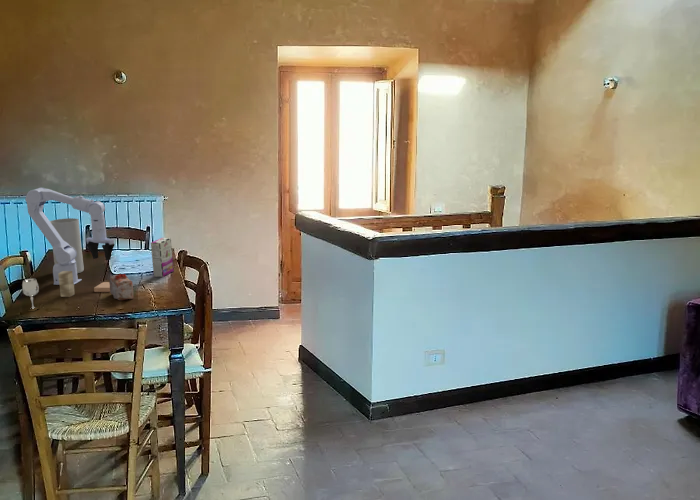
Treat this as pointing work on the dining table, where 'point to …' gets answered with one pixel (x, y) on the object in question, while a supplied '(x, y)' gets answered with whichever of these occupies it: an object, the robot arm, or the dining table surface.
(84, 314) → the dining table surface
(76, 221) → the cylinder vase
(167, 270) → the candy bar box
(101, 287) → the terracotta tile
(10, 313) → the dining table surface
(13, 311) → the dining table surface
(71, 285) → the beech stick
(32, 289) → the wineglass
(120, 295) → the food item
